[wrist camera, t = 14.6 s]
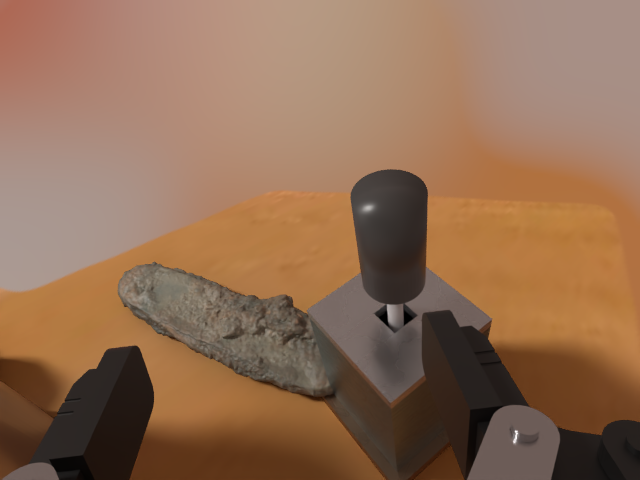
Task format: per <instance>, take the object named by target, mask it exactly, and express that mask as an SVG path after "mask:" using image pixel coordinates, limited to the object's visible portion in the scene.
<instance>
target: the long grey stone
mask: <svg viewBox="0 0 640 480" xmlns="http://www.w3.org/2000/svg"><path fill="white" fill-rule="evenodd" d="M118 295H119V296H120V298H121V301H122V302H123V304H124V307H129V308H130V310H131V311H132V313H133V314H134V315H135V316H136V317H138V318H139V319H142V320H145V321H146V323H147V324H149V325H151V326H152V328H153V329H154V330H155V331H156V332H157V333H158V334H162V335H163V336H169V337H171V336H172V337H174V338H176V339H177V340H179V341H180V342H182V343H185V344H186V345H187V346H188V347H189V348H190V349H192V350H194V351H195V352H196V353H201V354H203V355H205V356H206V357H209V358H210V359H212V358H214V359H215V360H216V361H218V362H221V363H223V365H226V366H227V367H228V368H231V369H233V370H234V372H235V373H236V374H239V375H242V376H245V377H248V376H249V377H250V378H253V379H254V380H258V381H264V382H266V381H267V382H271V383H272V384H274V385H277V386H279V387H281V388H283V389H286V390H289V391H290V392H292V393H300V394H306V395H313V396H314V397H320V396H322V397H325V396H326V395H331V394H334V393H333V390H332V388H331V386H330V384H329V381H328V378H327V375H326V371H325V368H324V365H323V362H322V358H321V355H320V352H319V348H318V345H317V342H316V339H315V335H314V332H313V329H312V325H311V322H310V319H309V316H308V315H307V314H306V313H303V312H302V311H301V310H299V309H297V308H295V307H293V300H292V297H290V296H287V295H279V296H276V297H271V298H269V299H262V300H261V299H258V297H256V296H255V295H248V296H244V295H241V294H238V293H235V292H232V291H230V290H229V289H228V288H227V287H222V286H221V285H219V284H218V283H215V282H213V281H209V280H206V279H205V278H203V277H202V276H196V275H194V274H193V273H186V272H185V271H184V270H181V269H178V268H174V269H171V268H168V267H163V266H162V265H161V264H157V263H156V262H153V263H152V264H145V265H139V266H136V267H134V268H133V269H131V270H129V271H126V272H124V275H123V277H122V278H121V279H120V281H119V284H118Z"/></svg>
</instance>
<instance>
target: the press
mask: <svg viewBox="0 0 640 480" xmlns="http://www.w3.org/2000/svg"><path fill="white" fill-rule="evenodd" d="M442 310H450V311H451V312H452V313H453V315H454V317H455V319H456V321H457V323H458V324H459V326H460V327H463V326H471V325H472V326H473V327H474V328H476V329H477V330H478V331H480V332H481V333H482V334H484V335H485V336H486V337H487V339H488V336H489V332H490V327H491V322H492V318H490V317H489V316H488V315H487V314H485V313H484V312H483V311H482V310H480V309H479V308H478V307H476V306H475V305H474V304H473V303H471V302H470V301H469V300H468V299H466V298H465V297H464V296H462V295H461V294H460V293H459V292H457V291H456V290H455V289H454V288H452V287H451V286H450V285H448V284H447V283H446V282H445V281H443V280H442V279H441V278H440V277H438V276H437V275H436V274H434V273H433V272H432V271H431V270H429V269H428V268H427V267H426V281H425V286H424V288H423V290H422V292H421V293H420V294H419V295H418V296H417V297H416V298H415V299H413V300H411V301H409V302H407V303H403V315H404V327H402V328H401V329H400V330H398V331H397V332H396V333H393V332H392V331H391V330H390V329H389V324H388V311H387V304H384V303H380V302H378V301H376V300H374V299H373V298H371V297H370V296H369V295H368V294H367V293H366V291H365V289H364V287H363V283H362V276H361V273H360V274H358V275H357V276H355V277H354V278H353V279H351V280H350V281H348V282H347V283H345V284H344V285H342V286H341V287H340V288H338V289H337V290H335V291H334V292H332V293H331V294H329V295H328V296H327V297H325V298H324V299H322V300H321V301H319V302H318V303H316V304H315V305H314V306H312V307H311V308H309V309H308V310H307V312H308V315H309V319H310V322H311V325H312V329H313V332H314V335H315V339H316V342H317V345H318V348H319V352H320V355H321V358H322V362H323V365H324V368H325V371H326V375H327V378H328V381H329V384H330V386H331V388H332V390H333V393H334V394H331V395H326V396H325V397H322V396H321V398H322V399H323V400H324V401H325V403H326V404H327V405H328V407H329V408H330V409H331V410H332V412H333V413H334V414H335V416H336V417H337V418H338V419H339V421H340V422H341V423H342V424H343V426H344V427H345V428H346V430H347V431H348V432H349V433H350V435H351V436H352V437H353V438H354V440H355V441H356V442H357V444H358V445H359V446H360V447H361V449H362V450H363V451H364V452H365V454H366V455H367V456H368V458H369V459H370V460H371V461H372V463H373V464H374V465H375V466H376V468H377V469H378V470H379V472H380V473H381V474H382V475H383V477H384V478H385V479H386V480H413V479H414V478H415V477H416V476H417V475H418V474H419V473H420V472H422V471H423V470H424V469H425V468H426V467H427V466H428V465H429V464H430V463H431V462H432V461H434V460H435V459H436V458H437V457H438V456H439V455H440V454H441V453H442V452H443V451H445V450H446V449H447V448H448V447H449V446H450V445H451V443H450V440H449V437H448V435H447V432H446V430H445V427H444V424H443V422H442V419H441V417H440V414H439V411H438V409H437V406H436V403H435V401H434V398H433V396H432V393H431V390H430V388H429V385H428V382H427V380H426V377H425V374H424V370H423V364H422V315H423V313H425V312H434V311H442Z"/></svg>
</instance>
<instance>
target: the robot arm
mask: <svg viewBox="0 0 640 480" xmlns="http://www.w3.org/2000/svg"><path fill="white" fill-rule="evenodd" d="M422 364H423V370H424V374H425V377H426V380H427V382H428V385H429V388H430V390H431V393H432V396H433V398H434V401H435V403H436V406H437V409H438V411H439V414H440V417H441V419H442V422H443V424H444V427H445V430H446V432H447V435H448V437H449V440H450V443H451V445H452V448H453V451H454V453H455V456H456V458H457V461H458V464H459V466H460V469H461V472H462V474H463V477H464V479H465V480H640V422H636V421H630V420H619V421H614V422H611V423H610V424H608V425H607V426H606V427H605V428H604V430H603V432H602V435H595V434H589V433H582V432H575V431H569V430H565V429H562V428H558V427H556V425H555V424H554V423H553V422H552V420H551V419H549V418H548V417H547V416H546V415H545V414H543V413H541V412H540V411H538V410H536V409H533V408H530V407H529V405H528V404H527V402H526V400H525V399H524V397H523V396H522V394H521V392H520V391H519V389H518V387H517V386H516V384H515V382H514V381H513V379H512V378H511V376H510V374H509V373H508V371H507V369H506V368H505V366H504V365H503V364H502V363H501V360H500V358H499V356H498V355H497V353H495V350H494V348H493V347H492V345H491V343H490V342H489V340H488V339H487V337H486V336H485V335H484V334H482V333H481V332H480V331H478V330H477V329H476V328H474V327H473V326H472V325H471V326H463V327H460V326H459V324H458V323H457V321H456V319H455V317H454V315H453V313H452V312H451V311H450V310H442V311H434V312H425V313H423V315H422ZM153 404H154V391H153V386H152V383H151V380H150V377H149V374H148V371H147V368H146V365H145V362H144V359H143V357H142V354H141V351H140V349H139V347H138V346H128V347H119V348H110V349H108V350H106V352H105V353H104V355H103V357H102V359H101V361H100V363H99V365H98V367H97V369H90V370H88V371H87V372H86V373H85V374H84V375H83V376H82V377H81V378H80V379H79V380H77V381H76V382H75V383H74V384H73V386H72V388H71V390H70V391H69V393H68V395H67V397H66V399H65V403H63V404H62V406H61V407H60V409H59V411H58V413H57V414H58V415H57V416H55V418H54V419H53V418H52V417H51V416H49V415H48V414H46V413H45V412H44V411H43V410H42V409H40V408H39V407H38V406H36V405H35V404H33V403H32V402H30V401H29V400H27V399H26V398H25V397H23V396H22V395H20V394H19V393H17V392H16V391H15V390H13V389H12V388H10V387H9V386H7V385H6V384H4V383H3V382H2V381H0V480H129V479H130V476H131V473H132V470H133V467H134V464H135V461H136V458H137V455H138V452H139V449H140V446H141V443H142V440H143V437H144V434H145V431H146V428H147V424H148V421H149V418H150V415H151V412H152V409H153Z"/></svg>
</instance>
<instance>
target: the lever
mask: <svg viewBox="0 0 640 480" xmlns="http://www.w3.org/2000/svg"><path fill="white" fill-rule="evenodd" d="M427 200H428V192H427V187H426V185H425V184H424V182H423V181H422V180H421V179H420V178H419V177H417V176H416V175H413V174H412V173H409V172H406V171H402V170H381V171H377V172H374V173H371V174H369V175H367V176H365V177H363V178H362V179H361V180H359V181H358V182H357V183H356V184H355V186H354V187H353V189H352V192H351V204H352V212H353V219H354V226H355V233H356V240H357V247H358V255H359V262H360V269H361V276H362V283H363V287H364V289H365V291H366V293H367V294H368V295H369V296H370V297H371V298H373V299H374V300H376V301H378V302H380V303H384V304H387V311H388V324H389V329H390V330H391V331H392V332H393V333H396V332H397V331H398V330H400V329H401V328H402V327H404V315H403V303H407V302H409V301H411V300H413V299H415V298H416V297H417V296H418V295H419V294H420V293H421V292H422V290H423V288H424V286H425V281H426V242H427Z"/></svg>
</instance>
